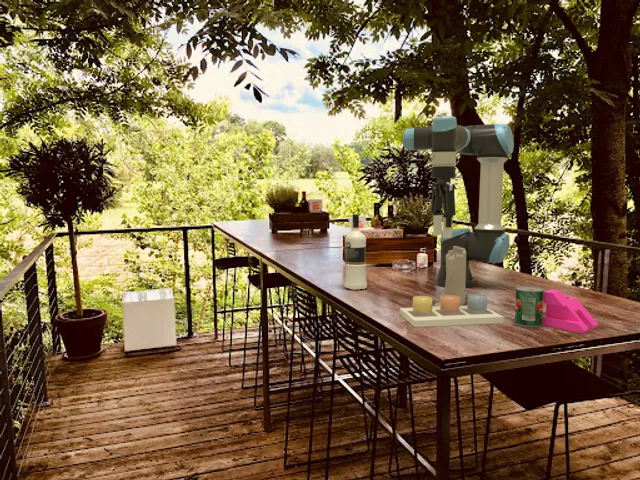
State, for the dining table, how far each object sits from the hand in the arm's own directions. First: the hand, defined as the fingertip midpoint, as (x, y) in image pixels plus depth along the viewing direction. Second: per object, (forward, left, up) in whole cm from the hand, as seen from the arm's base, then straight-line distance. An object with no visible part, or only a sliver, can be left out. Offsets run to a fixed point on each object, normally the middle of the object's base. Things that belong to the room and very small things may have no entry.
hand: (442, 236), depth 177 cm
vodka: (-43, -20, -26) cm, 54 cm away
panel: (+8, 0, -25) cm, 27 cm away
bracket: (+22, +32, -26) cm, 47 cm away
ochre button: (+8, -9, -22) cm, 25 cm away
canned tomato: (+18, +21, -26) cm, 38 cm away
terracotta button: (+8, 0, -22) cm, 24 cm away
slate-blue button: (+8, +9, -22) cm, 25 cm away
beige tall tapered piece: (-11, +7, -26) cm, 29 cm away
